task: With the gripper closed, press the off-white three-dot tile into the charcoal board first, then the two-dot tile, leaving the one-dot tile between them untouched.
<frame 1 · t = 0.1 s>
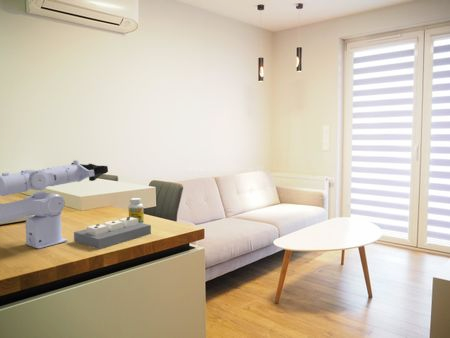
hand: (100, 168, 124), 22 cm above the countertop, tool horizontal, fingers open, 7 cm apart
supplement bottle: (136, 224, 133), on the countertop
tile one: (113, 226, 115), point 4 cm above the countertop, slide at 0.0 cm
tile three: (128, 222, 120), point 4 cm above the countertop, slide at 0.0 cm
tile two: (97, 230, 110), point 4 cm above the countertop, slide at 0.0 cm
button board: (114, 237, 116), on the countertop
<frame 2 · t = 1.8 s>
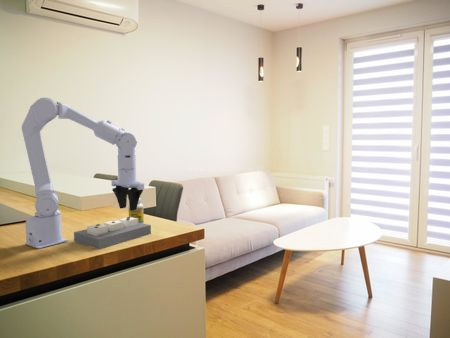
hand: (128, 209, 120), 8 cm above the countertop, tool pointing down, fingers open, 5 cm apart
nothing on the countertop moved.
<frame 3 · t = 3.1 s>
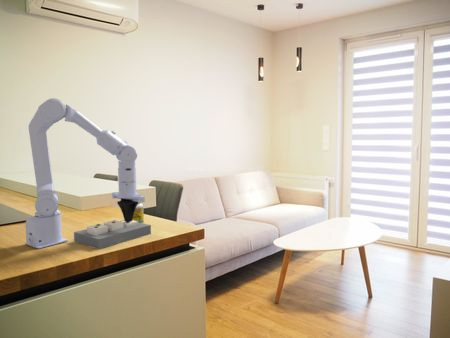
hand: (128, 221, 120), 4 cm above the countertop, tool pointing down, fingers closed, pressing on tile three
tile three: (128, 225, 120), point 3 cm above the countertop, slide at 1.0 cm, touching gripper
everything else where it was.
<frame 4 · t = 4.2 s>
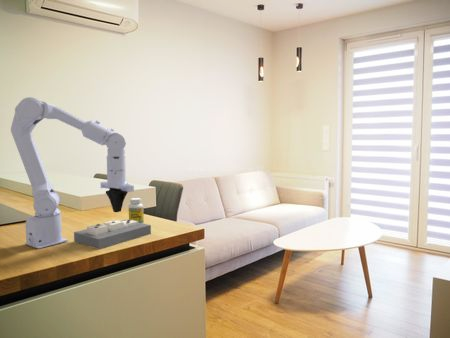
hand: (117, 211, 116), 8 cm above the countertop, tool pointing down, fingers closed
tile three: (128, 225, 120), point 3 cm above the countertop, slide at 1.0 cm
everything else where it was.
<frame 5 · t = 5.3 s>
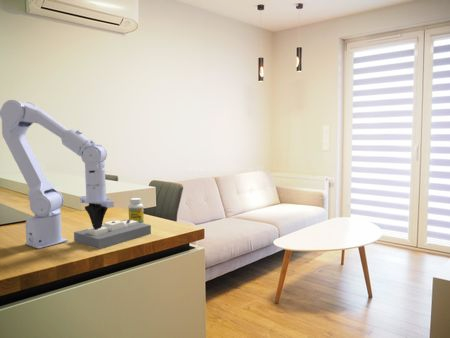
hand: (97, 227, 110), 5 cm above the countertop, tool pointing down, fingers closed, pressing on tile two
tile two: (97, 232, 111), point 3 cm above the countertop, slide at 0.6 cm, touching gripper
everything else where it was.
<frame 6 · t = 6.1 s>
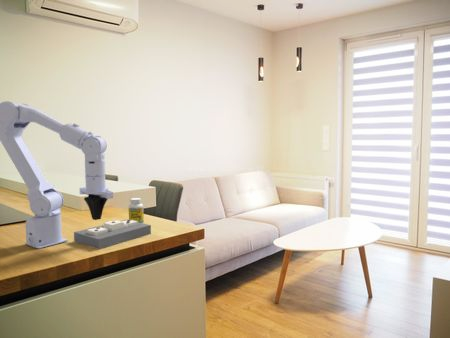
hand: (96, 219, 110), 7 cm above the countertop, tool pointing down, fingers closed
tile two: (97, 233, 111), point 3 cm above the countertop, slide at 1.0 cm
everything else where it was.
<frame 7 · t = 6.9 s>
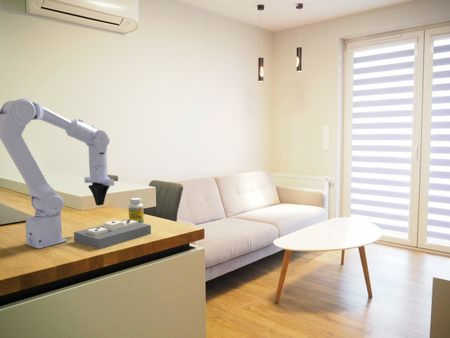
hand: (99, 204, 122), 9 cm above the countertop, tool pointing down, fingers closed
nothing on the countertop moved.
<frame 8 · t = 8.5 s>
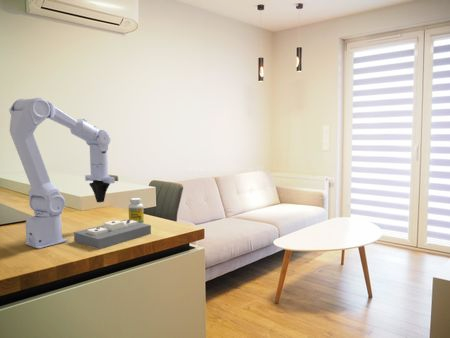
hand: (100, 202, 127), 9 cm above the countertop, tool pointing down, fingers closed
nothing on the countertop moved.
at the end: tile three slide at 1.0 cm; tile two slide at 1.0 cm; tile one slide at 0.0 cm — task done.
